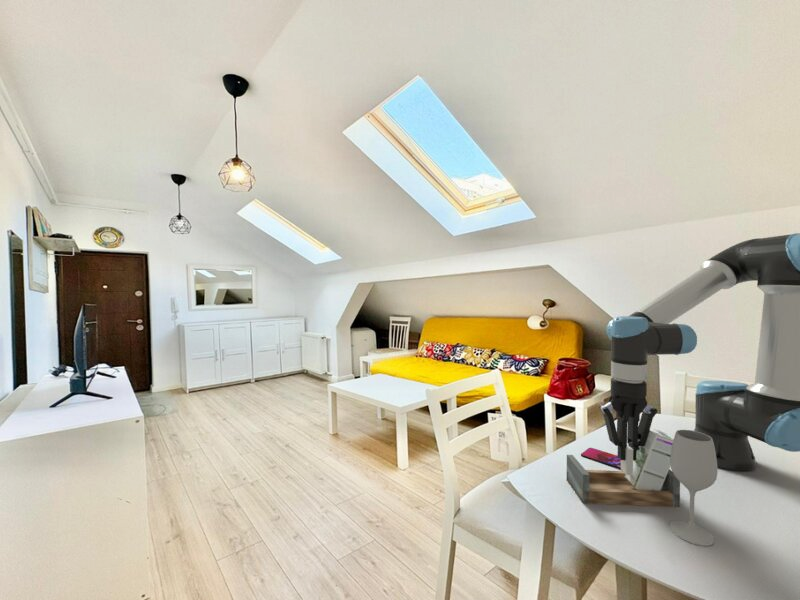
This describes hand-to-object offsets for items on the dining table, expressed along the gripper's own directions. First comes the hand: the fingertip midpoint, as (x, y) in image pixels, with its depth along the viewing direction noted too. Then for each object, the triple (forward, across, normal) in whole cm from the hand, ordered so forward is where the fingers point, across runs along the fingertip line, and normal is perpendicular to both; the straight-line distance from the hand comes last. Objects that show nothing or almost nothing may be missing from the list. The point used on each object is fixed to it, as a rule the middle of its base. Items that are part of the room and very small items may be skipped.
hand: (626, 472), depth 89 cm
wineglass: (+6, -6, +14) cm, 16 cm away
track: (+5, +2, 0) cm, 6 cm away
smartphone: (+6, -5, -17) cm, 18 cm away
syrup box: (+4, -3, +1) cm, 5 cm away
